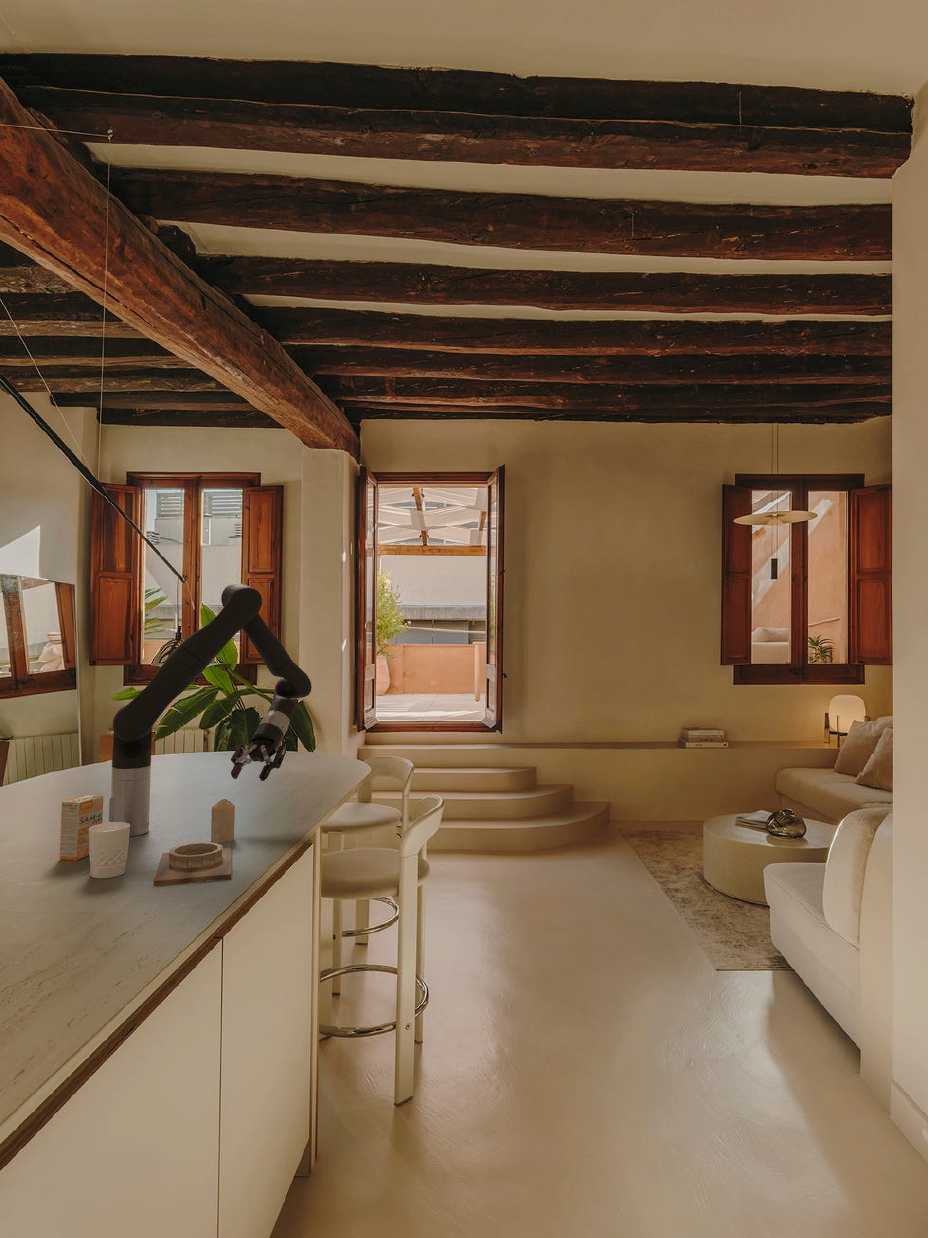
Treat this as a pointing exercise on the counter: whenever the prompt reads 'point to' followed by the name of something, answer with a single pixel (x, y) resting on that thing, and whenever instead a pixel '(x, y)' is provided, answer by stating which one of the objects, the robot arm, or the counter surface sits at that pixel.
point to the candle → (222, 822)
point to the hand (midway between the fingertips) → (247, 778)
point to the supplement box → (79, 825)
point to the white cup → (108, 849)
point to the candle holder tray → (194, 864)
